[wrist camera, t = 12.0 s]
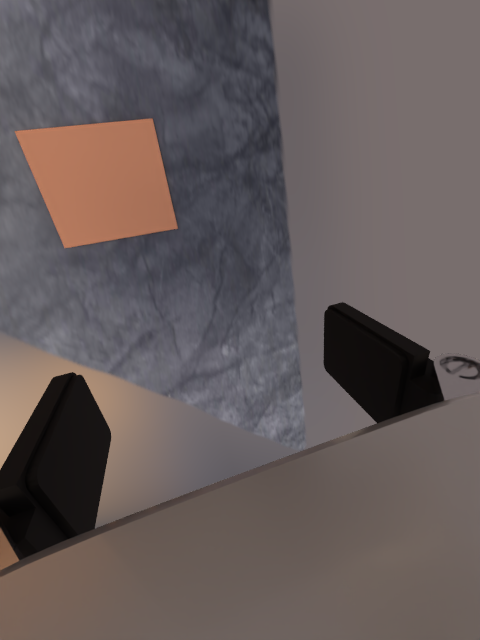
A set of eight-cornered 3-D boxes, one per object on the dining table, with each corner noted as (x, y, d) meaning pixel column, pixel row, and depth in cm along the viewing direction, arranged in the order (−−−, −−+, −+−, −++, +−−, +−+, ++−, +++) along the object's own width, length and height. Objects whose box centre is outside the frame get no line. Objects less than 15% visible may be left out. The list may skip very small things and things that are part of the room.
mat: (17, 132, 28) (14, 131, 27) (152, 119, 30) (152, 118, 30) (66, 247, 33) (64, 248, 33) (177, 228, 36) (177, 228, 35)
